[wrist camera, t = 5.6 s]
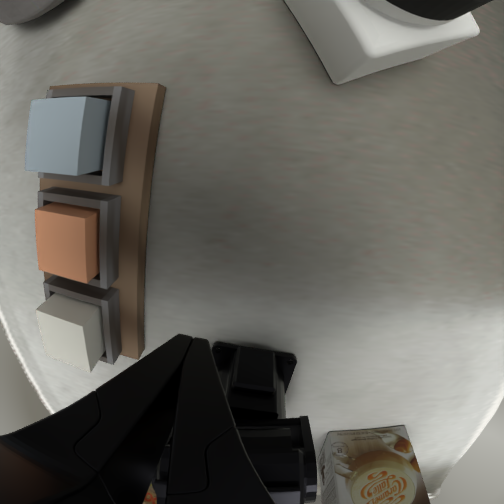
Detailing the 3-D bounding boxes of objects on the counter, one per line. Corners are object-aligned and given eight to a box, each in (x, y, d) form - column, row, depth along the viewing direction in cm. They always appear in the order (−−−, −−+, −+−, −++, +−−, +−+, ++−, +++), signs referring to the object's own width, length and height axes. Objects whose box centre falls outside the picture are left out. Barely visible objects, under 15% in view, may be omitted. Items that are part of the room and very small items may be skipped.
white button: (107, 347, 20) (90, 372, 18) (65, 333, 20) (46, 355, 17) (103, 303, 19) (82, 326, 16) (58, 290, 19) (35, 309, 16)
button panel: (144, 348, 23) (130, 374, 20) (61, 323, 23) (42, 343, 20) (166, 87, 16) (146, 77, 13) (62, 88, 16) (34, 84, 13)
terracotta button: (108, 264, 19) (86, 283, 16) (62, 253, 19) (38, 269, 16) (109, 206, 18) (85, 218, 15) (61, 199, 18) (34, 209, 15)
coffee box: (407, 422, 26) (447, 545, 11) (387, 453, 28) (414, 562, 13) (327, 430, 26) (345, 574, 11) (314, 460, 28) (324, 582, 13)
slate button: (104, 169, 16) (77, 175, 13) (54, 164, 16) (24, 170, 13) (113, 101, 14) (86, 96, 12) (61, 102, 14) (31, 99, 12)
